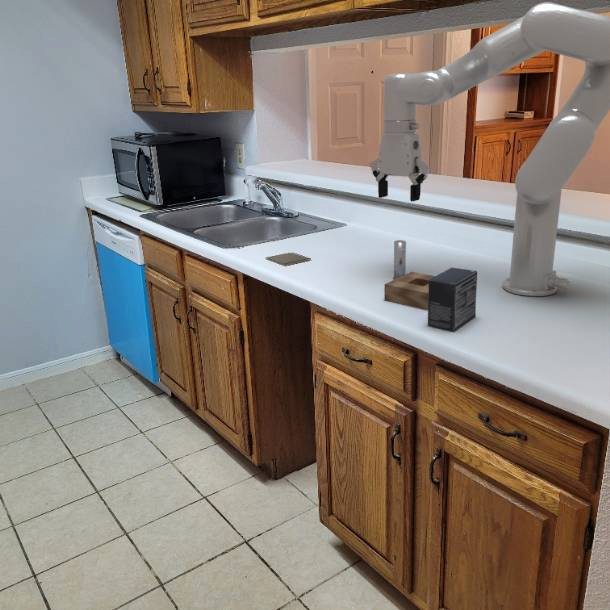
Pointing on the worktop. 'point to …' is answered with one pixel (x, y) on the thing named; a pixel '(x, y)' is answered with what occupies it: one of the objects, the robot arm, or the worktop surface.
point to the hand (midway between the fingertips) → (398, 198)
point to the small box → (452, 299)
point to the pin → (399, 258)
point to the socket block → (409, 290)
